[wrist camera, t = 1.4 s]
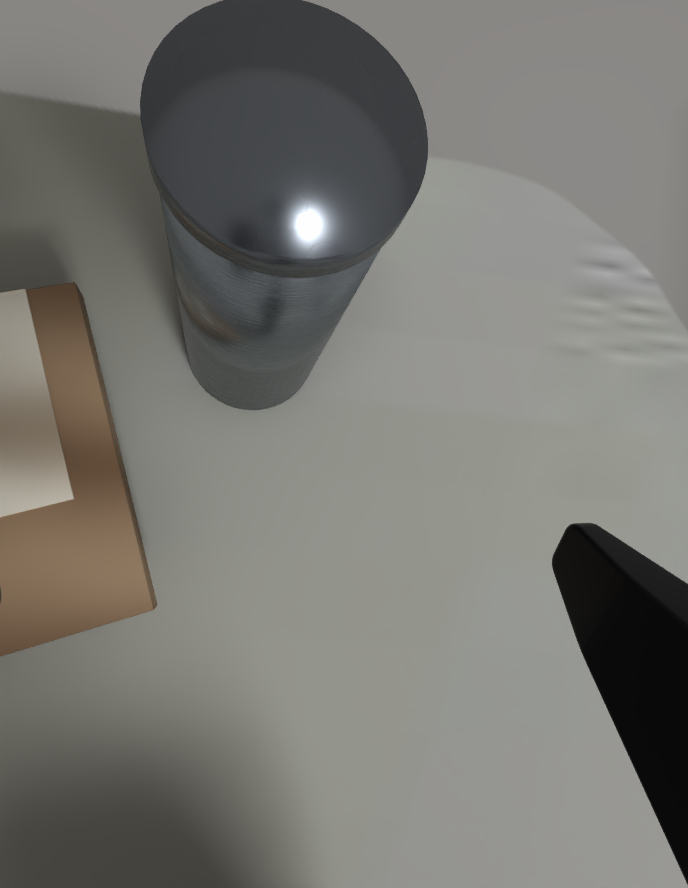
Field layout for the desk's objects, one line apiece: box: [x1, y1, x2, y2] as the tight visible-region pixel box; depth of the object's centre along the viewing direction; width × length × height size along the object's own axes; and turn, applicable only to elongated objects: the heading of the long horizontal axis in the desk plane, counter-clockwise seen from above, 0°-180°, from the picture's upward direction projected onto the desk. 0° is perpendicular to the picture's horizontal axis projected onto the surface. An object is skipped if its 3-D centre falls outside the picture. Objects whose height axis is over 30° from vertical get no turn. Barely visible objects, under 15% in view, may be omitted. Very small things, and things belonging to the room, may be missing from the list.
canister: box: [140, 0, 428, 410], centre depth 16 cm, size 5×5×13 cm
